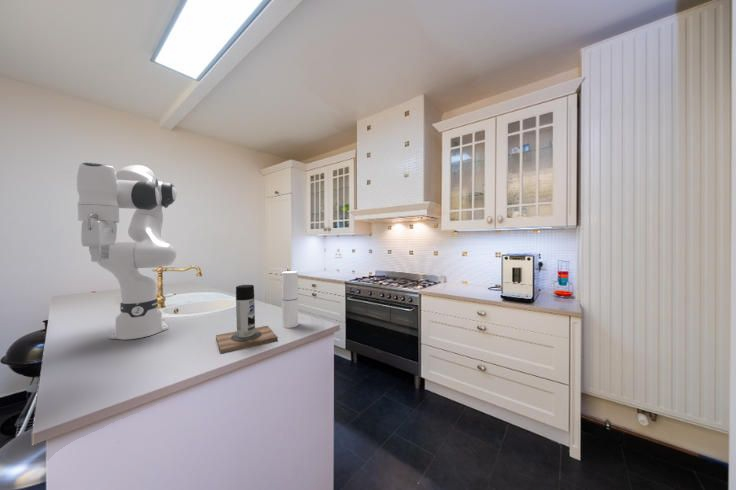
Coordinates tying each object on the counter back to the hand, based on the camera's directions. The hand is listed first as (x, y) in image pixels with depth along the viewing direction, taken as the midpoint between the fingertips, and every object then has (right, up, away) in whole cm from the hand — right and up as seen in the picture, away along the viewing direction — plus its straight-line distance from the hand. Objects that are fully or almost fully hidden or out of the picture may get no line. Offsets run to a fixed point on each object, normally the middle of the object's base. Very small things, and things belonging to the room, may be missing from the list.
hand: (100, 260), depth 80 cm
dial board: (+34, -33, +24) cm, 53 cm away
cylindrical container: (+47, -33, +41) cm, 70 cm away
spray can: (+34, -32, +24) cm, 52 cm away
